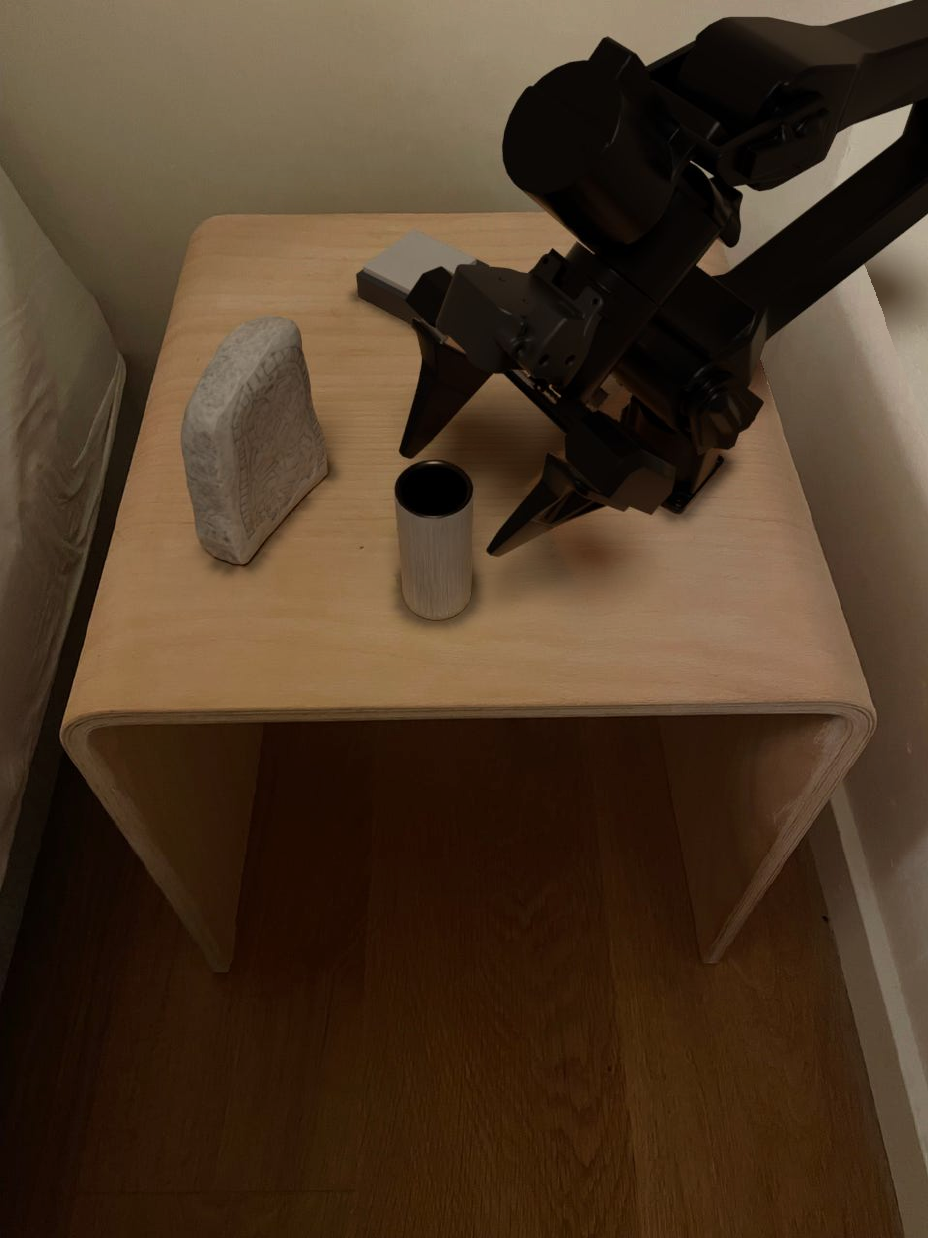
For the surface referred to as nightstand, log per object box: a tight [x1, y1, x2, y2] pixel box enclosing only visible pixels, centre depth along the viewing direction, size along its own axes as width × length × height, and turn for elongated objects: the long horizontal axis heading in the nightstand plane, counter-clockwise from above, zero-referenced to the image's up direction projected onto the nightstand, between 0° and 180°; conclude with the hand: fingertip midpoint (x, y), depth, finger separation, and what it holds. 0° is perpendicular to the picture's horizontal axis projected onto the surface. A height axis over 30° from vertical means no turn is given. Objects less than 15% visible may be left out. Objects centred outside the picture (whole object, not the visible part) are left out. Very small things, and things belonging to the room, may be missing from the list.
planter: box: [393, 459, 475, 621], centre depth 56 cm, size 4×4×10 cm
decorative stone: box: [180, 315, 329, 565], centre depth 58 cm, size 11×6×15 cm, turn 153°
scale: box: [355, 228, 490, 325], centre depth 76 cm, size 8×8×3 cm
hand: (446, 503), depth 53 cm, fingers open, 9 cm apart
